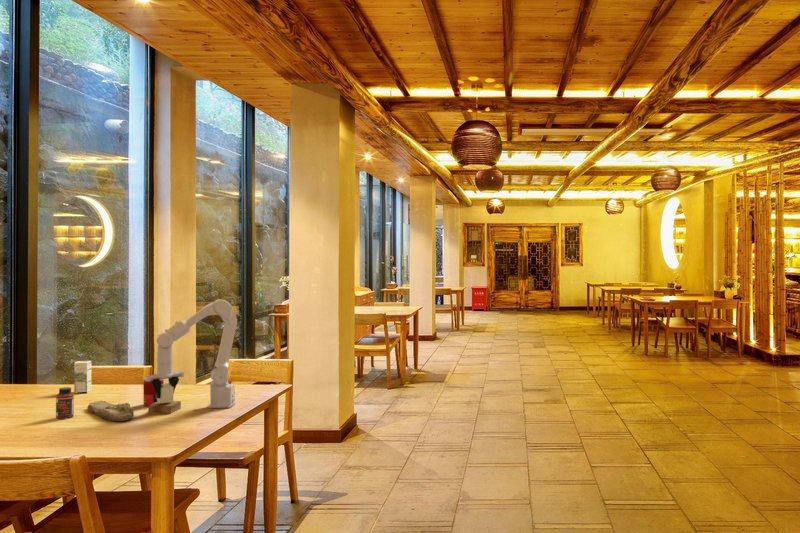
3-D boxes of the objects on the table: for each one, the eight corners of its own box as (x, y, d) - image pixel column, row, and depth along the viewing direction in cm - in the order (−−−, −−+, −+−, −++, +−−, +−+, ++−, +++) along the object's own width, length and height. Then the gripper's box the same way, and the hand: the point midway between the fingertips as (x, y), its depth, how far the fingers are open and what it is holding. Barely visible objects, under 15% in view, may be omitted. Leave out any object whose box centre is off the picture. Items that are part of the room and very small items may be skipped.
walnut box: (180, 409, 240) (180, 401, 240) (170, 414, 231) (170, 405, 231) (159, 409, 240) (159, 400, 240) (148, 414, 231) (148, 405, 231)
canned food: (156, 406, 243) (156, 380, 243) (139, 406, 245) (139, 379, 245) (167, 403, 251) (167, 377, 251) (150, 402, 252) (150, 376, 252)
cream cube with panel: (168, 399, 239) (168, 382, 239) (173, 401, 235) (173, 384, 235) (157, 401, 235) (157, 384, 235) (161, 403, 232) (162, 386, 232)
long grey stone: (107, 409, 246) (81, 414, 239) (106, 396, 246) (80, 401, 239) (141, 418, 222) (113, 425, 215) (140, 404, 222) (112, 410, 215)
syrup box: (91, 390, 278) (91, 360, 278) (86, 393, 272) (87, 361, 273) (79, 391, 277) (79, 360, 278) (73, 393, 272) (73, 362, 272)
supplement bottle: (55, 420, 221) (55, 390, 222) (56, 417, 227) (56, 387, 227) (73, 418, 224) (73, 388, 224) (73, 415, 229) (74, 386, 230)
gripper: (150, 365, 228) (150, 401, 228) (186, 362, 238) (186, 395, 238) (143, 364, 233) (143, 398, 233) (179, 360, 243) (179, 393, 243)
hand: (164, 397), depth 236 cm, fingers closed on cream cube with panel, 4 cm apart
